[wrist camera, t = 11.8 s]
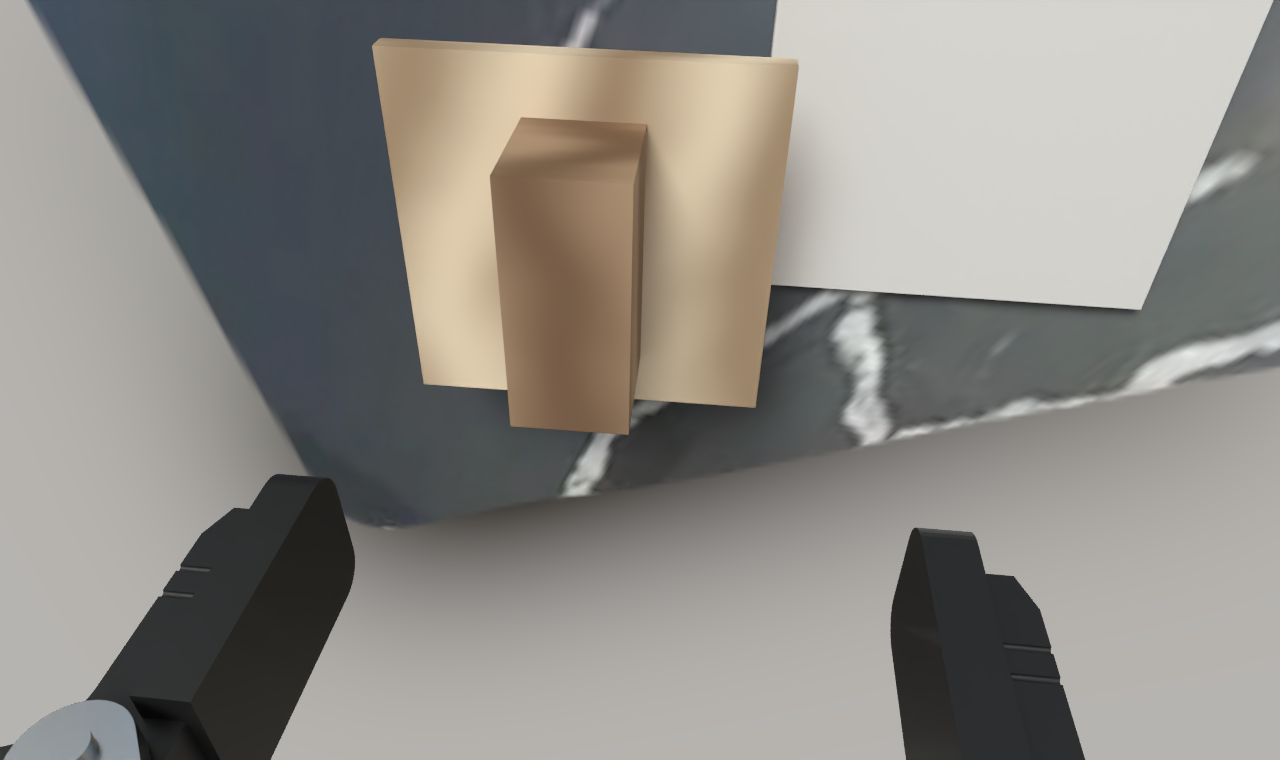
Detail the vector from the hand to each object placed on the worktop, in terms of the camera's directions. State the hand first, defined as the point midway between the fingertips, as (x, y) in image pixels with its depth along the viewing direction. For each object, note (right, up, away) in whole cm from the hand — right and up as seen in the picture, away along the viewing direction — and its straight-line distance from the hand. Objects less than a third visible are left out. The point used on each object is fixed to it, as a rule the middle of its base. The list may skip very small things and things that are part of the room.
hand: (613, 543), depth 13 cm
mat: (+13, +12, +20) cm, 27 cm away
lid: (-1, +7, +19) cm, 20 cm away
